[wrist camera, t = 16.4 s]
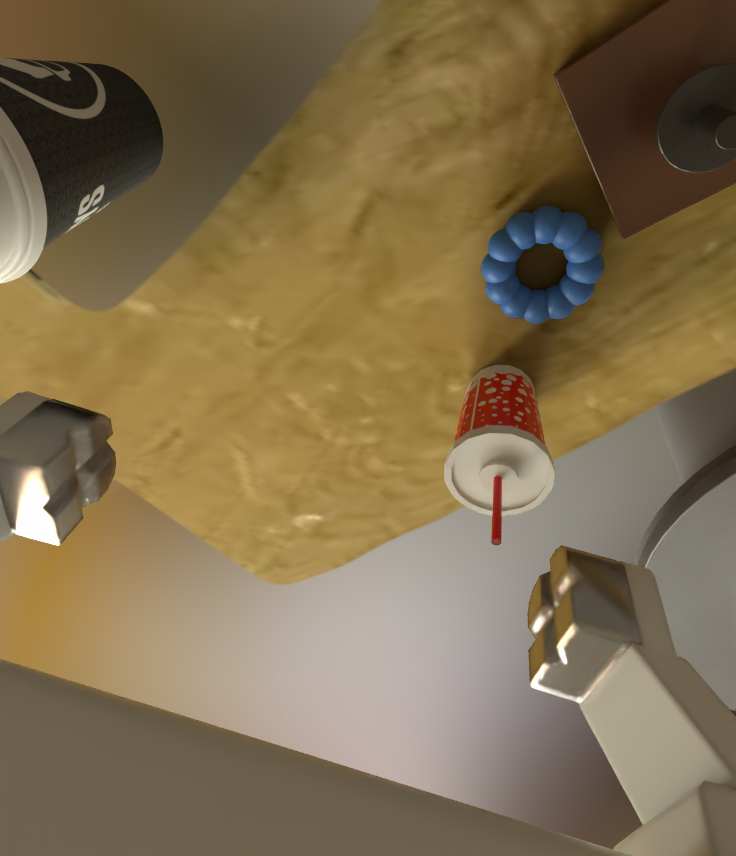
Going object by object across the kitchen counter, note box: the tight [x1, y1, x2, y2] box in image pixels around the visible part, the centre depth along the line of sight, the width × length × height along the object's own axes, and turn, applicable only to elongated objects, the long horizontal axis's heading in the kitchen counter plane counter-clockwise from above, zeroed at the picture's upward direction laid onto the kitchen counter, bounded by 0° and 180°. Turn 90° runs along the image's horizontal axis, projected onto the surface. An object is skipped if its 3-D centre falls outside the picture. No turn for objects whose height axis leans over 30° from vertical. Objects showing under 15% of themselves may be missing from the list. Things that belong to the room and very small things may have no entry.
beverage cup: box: [444, 365, 555, 545], centre depth 33 cm, size 6×6×14 cm
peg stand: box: [554, 0, 736, 239], centre depth 24 cm, size 9×9×8 cm
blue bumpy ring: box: [481, 206, 604, 324], centre depth 32 cm, size 7×7×2 cm
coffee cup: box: [0, 58, 163, 283], centre depth 28 cm, size 10×10×15 cm
